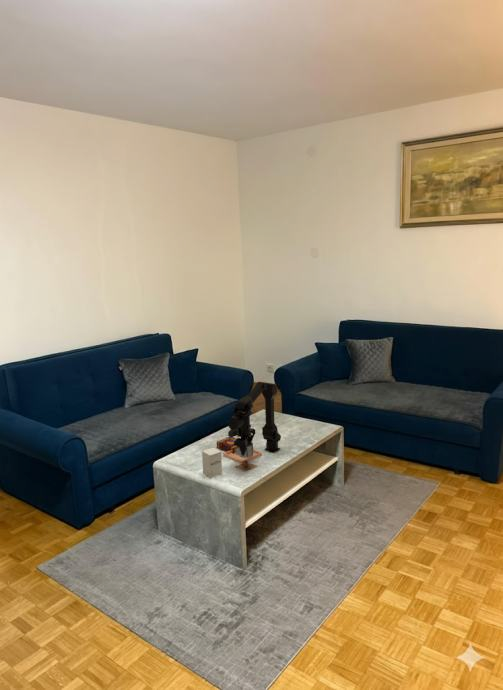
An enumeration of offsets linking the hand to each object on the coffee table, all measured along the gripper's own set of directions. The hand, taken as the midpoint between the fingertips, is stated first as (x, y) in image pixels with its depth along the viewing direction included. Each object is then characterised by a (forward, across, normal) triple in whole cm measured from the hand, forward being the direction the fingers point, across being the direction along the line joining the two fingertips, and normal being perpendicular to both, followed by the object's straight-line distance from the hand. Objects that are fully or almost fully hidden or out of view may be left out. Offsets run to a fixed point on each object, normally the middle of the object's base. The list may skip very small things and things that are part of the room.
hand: (245, 452), depth 261 cm
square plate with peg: (+8, 0, 0) cm, 9 cm away
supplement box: (+9, +11, -14) cm, 20 cm away
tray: (+8, -13, -6) cm, 16 cm away
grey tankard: (+1, 0, 0) cm, 1 cm away
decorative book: (+9, -22, -16) cm, 29 cm away
